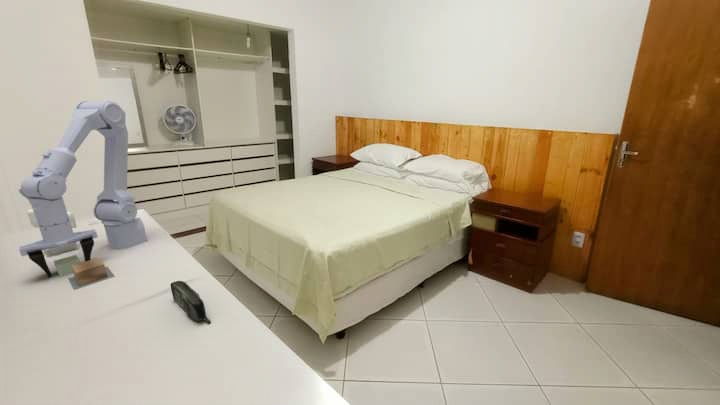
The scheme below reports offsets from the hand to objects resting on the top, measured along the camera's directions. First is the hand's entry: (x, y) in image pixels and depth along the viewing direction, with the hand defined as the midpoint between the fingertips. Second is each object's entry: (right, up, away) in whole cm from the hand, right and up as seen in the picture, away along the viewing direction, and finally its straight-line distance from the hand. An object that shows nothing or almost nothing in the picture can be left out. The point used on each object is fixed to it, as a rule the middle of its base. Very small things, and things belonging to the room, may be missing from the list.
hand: (69, 270), depth 83 cm
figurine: (-16, +3, +15) cm, 22 cm away
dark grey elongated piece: (+40, -6, -14) cm, 43 cm away
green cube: (0, -1, +1) cm, 2 cm away
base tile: (+9, -2, -3) cm, 10 cm away
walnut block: (+9, -1, -3) cm, 9 cm away
